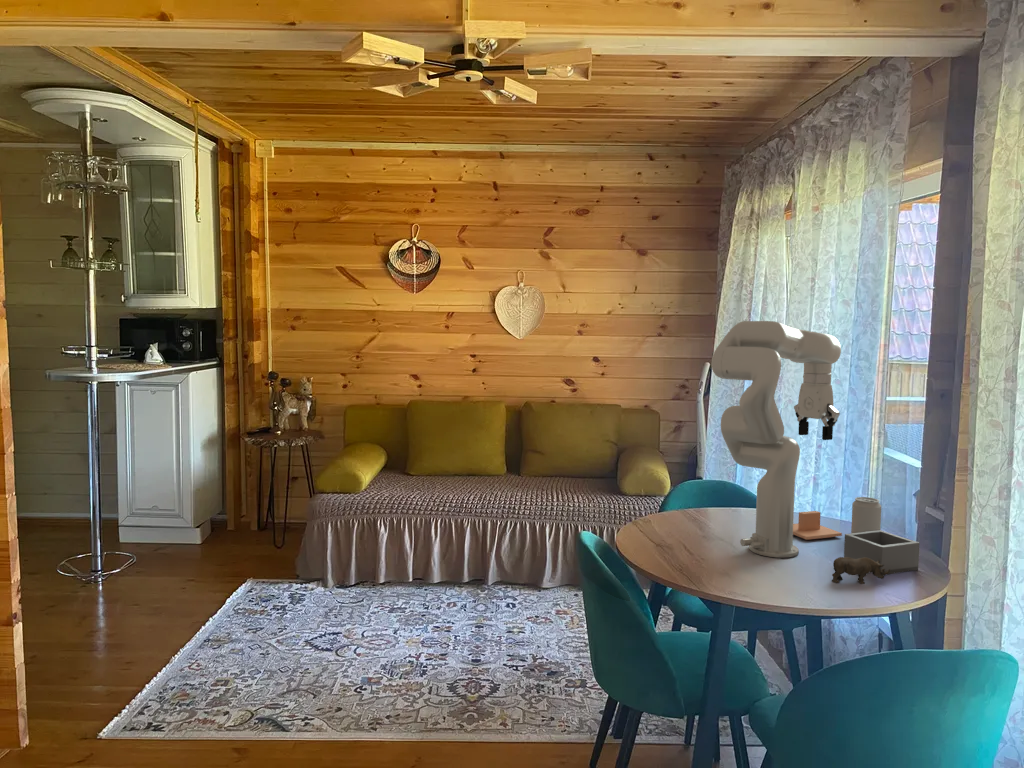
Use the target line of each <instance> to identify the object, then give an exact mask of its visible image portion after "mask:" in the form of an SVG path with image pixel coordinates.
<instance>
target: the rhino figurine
mask: <svg viewBox="0 0 1024 768" xmlns="http://www.w3.org/2000/svg"><path fill="white" fill-rule="evenodd" d="M879 563H880V560H878V561H877V562H875V561H873V560H872V559H869V558H859V559H852V558H849V557H844V556H843V557H841V556H840V557H837V558H835V559H834V560H833V564H832V565H833V570H834V573H832V575H831V576H832V579H831V582H832V583H835V584H840V580H841V581H842V580H843V577H842V575H843V574H847V575H849V576H854V577H855V576H857V583H858V584H860V585H865V583H866V582H865V579H864V578H865V577H866V576H867V575H868V574H870V573H871V574H872V575H873V576H874V577H876V578H878V579H880V580H884V579H885V576H886V575H887V574H888V573H889V572H890V569H889V570H888V571H886V572H884V570H885V569H881V568H880V567H883V566H884V564H881V565H880V564H879ZM888 575H889V574H888Z"/></svg>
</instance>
